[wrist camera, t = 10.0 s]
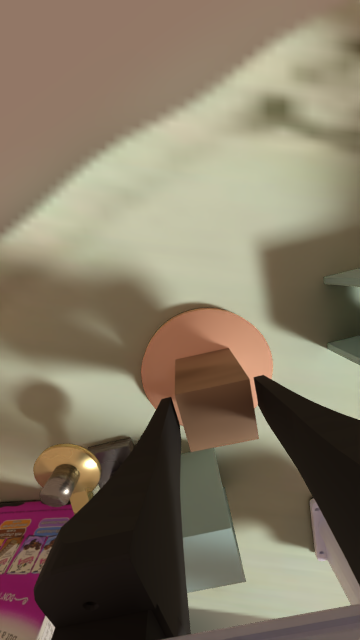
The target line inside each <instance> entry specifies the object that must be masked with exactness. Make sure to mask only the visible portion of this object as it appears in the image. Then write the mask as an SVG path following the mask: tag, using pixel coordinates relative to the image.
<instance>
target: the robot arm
mask: <svg viewBox="0 0 360 640" xmlns="http://www.w3.org/2000/svg"><path fill="white" fill-rule="evenodd" d="M253 378H254V384H255V389H256V395H257V401H258V406H259V408H260V410H261V412H262V414H263V416H264V417H265V419H266V421H267V423H268V424H269V426H270V428H271V429H272V431H273V432H274V434H275V435H276V437H277V438H278V440H279V441H280V443H281V444H282V446H283V447H284V449H285V450H286V452H287V453H288V455H289V456H290V458H291V459H292V461H293V462H294V464H295V466H296V467H297V469H298V470H299V472H300V474H301V476H302V478H303V479H304V481H305V483H306V485H307V487H308V488H309V490H310V492H311V494H312V496H313V499H311V500H310V511H311V520H312V529H313V538H314V548H315V555H316V557H317V559H318V560H319V561H324V560H328V562H329V564H330V566H331V568H332V569H333V571H334V573H335V575H336V577H337V579H338V581H339V583H340V585H341V587H342V588H343V590H344V592H345V594H346V596H347V598H348V600H349V602H350V604H351V605H350V606H345V607H339V608H334V609H328V610H322V611H317V612H311V613H306V614H300V615H295V616H289V617H283V618H278V619H272V620H267V621H262V622H256V623H250V624H245V625H239V626H233V627H228V628H222V629H217V630H211V631H206V632H200V633H195V634H191V633H190V621H189V610H188V598H187V587H186V574H185V561H184V548H183V533H182V517H181V500H180V470H181V434H180V423H179V420H178V417H177V414H176V411H175V407H174V404H173V401H172V398H171V397H168V398H164V399H161V401H160V403H159V405H158V407H157V409H156V411H155V413H154V415H153V417H152V419H151V420H150V422H149V424H148V426H147V428H146V430H145V431H144V433H143V434H142V436H141V438H140V439H139V441H138V443H137V444H136V446H135V447H134V449H133V450H132V451H131V453H130V454H129V456H128V457H127V458H126V460H125V461H124V462H123V463H122V465H121V466H120V467H119V468H118V470H117V471H116V472H115V473H114V474H113V476H112V477H111V478H110V479H109V480H108V481H107V483H106V484H105V485H104V486H103V487H102V488H101V489H100V490H99V491H98V492H97V493H96V494H95V495H94V496H93V497H92V499H91V500H90V501H89V502H88V503H87V504H86V505H84V506H83V507H82V508H81V509H80V510H79V511H78V512H77V513H76V514H75V515H74V516H73V517H72V518H71V519H70V520H69V521H68V522H67V523H65V524H64V525H63V526H62V527H61V529H60V531H59V533H58V535H57V537H56V539H55V541H54V543H53V545H52V548H51V550H50V552H49V554H48V556H47V559H46V561H45V563H44V565H43V568H42V570H41V572H40V574H39V577H38V579H37V581H36V584H35V586H34V598H35V601H36V603H37V605H38V607H39V608H40V609H41V610H42V612H43V613H44V614H45V615H46V617H47V618H48V619H49V620H50V622H51V623H52V624H53V625H54V627H55V629H54V632H53V635H52V638H51V640H360V420H358V419H355V418H352V417H349V416H346V415H343V414H341V413H338V412H336V411H333V410H331V409H328V408H326V407H323V406H321V405H319V404H317V403H314V402H312V401H310V400H308V399H306V398H304V397H302V396H300V395H298V394H296V393H294V392H292V391H291V390H289V389H287V388H285V387H283V386H282V385H280V384H278V383H276V382H275V381H273V380H271V379H270V378H268V377H266V376H264V375H261V376H257V377H253Z"/></svg>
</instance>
